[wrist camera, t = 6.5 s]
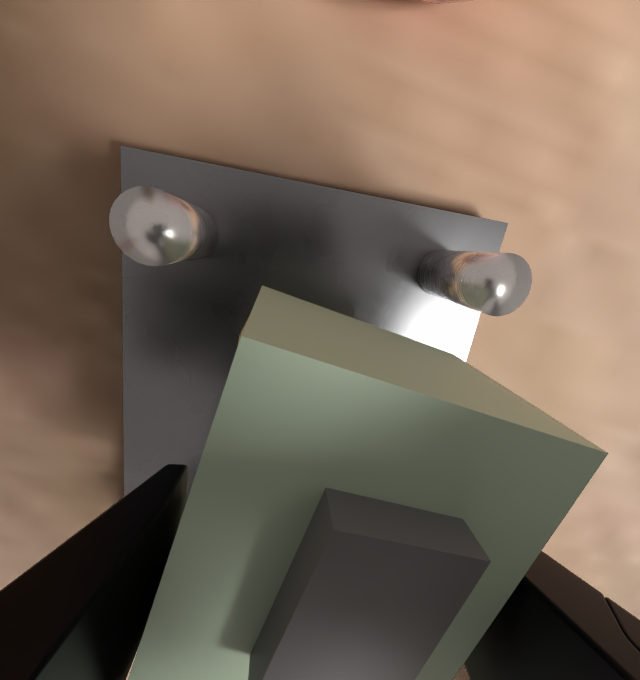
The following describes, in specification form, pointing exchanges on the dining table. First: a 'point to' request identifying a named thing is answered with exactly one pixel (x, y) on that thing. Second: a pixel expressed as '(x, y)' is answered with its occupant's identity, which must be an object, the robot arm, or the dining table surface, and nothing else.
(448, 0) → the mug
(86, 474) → the dining table surface
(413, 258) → the chassis
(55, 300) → the dining table surface
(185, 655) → the pale green block
